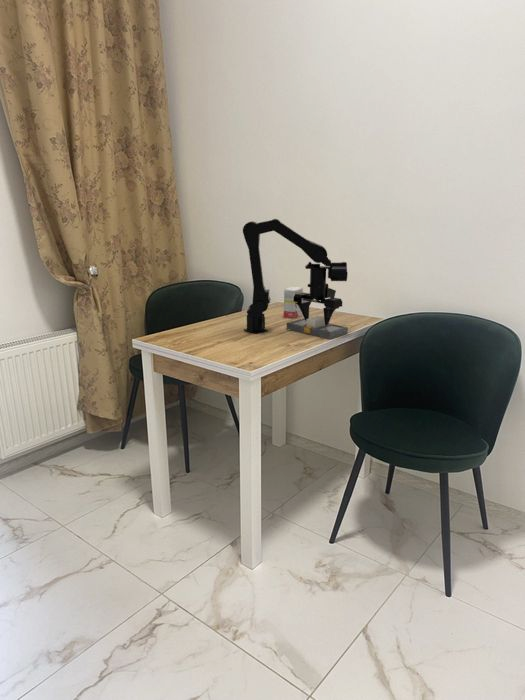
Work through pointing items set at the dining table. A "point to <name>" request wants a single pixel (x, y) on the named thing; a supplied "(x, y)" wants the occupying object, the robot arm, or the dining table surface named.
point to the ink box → (291, 302)
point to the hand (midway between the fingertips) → (316, 323)
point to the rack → (318, 329)
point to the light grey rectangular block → (315, 322)
